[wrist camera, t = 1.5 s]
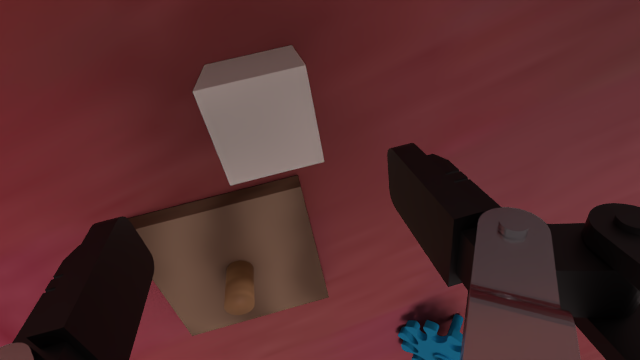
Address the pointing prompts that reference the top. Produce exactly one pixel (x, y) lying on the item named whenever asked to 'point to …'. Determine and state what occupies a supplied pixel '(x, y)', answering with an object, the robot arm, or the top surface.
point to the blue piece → (432, 340)
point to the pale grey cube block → (259, 114)
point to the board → (234, 255)
